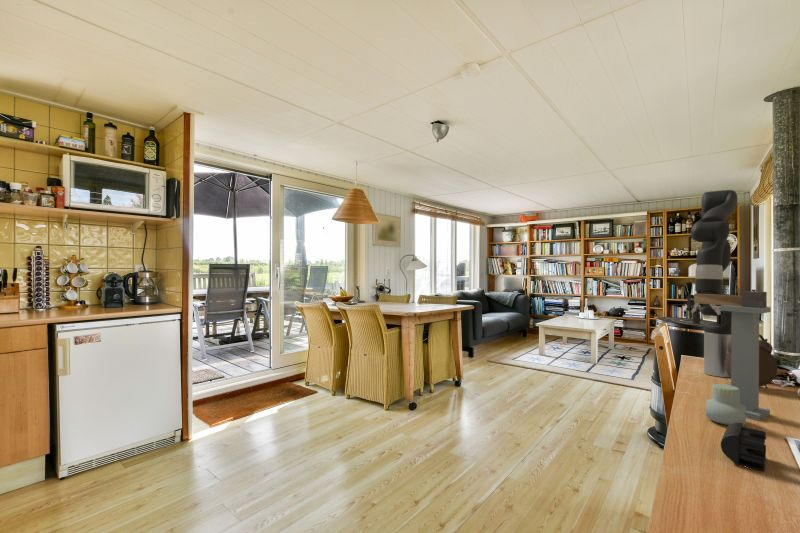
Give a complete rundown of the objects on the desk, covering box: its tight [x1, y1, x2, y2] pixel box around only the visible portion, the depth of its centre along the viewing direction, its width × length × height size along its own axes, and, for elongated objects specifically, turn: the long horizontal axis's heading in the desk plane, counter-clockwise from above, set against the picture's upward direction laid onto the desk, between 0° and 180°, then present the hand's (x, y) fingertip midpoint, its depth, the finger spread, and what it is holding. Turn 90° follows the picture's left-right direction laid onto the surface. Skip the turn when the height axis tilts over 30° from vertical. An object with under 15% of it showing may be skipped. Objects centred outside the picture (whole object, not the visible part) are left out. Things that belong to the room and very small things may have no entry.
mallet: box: [693, 290, 768, 308], centre depth 119 cm, size 6×16×4 cm, turn 32°
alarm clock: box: [725, 333, 778, 389], centre depth 142 cm, size 14×7×20 cm, turn 84°
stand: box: [721, 305, 772, 422], centre depth 116 cm, size 9×9×32 cm
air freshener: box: [705, 383, 747, 426], centre depth 108 cm, size 11×8×10 cm
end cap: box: [720, 423, 767, 473], centre depth 87 cm, size 10×7×7 cm
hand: (707, 325), depth 133 cm, fingers open, 8 cm apart
